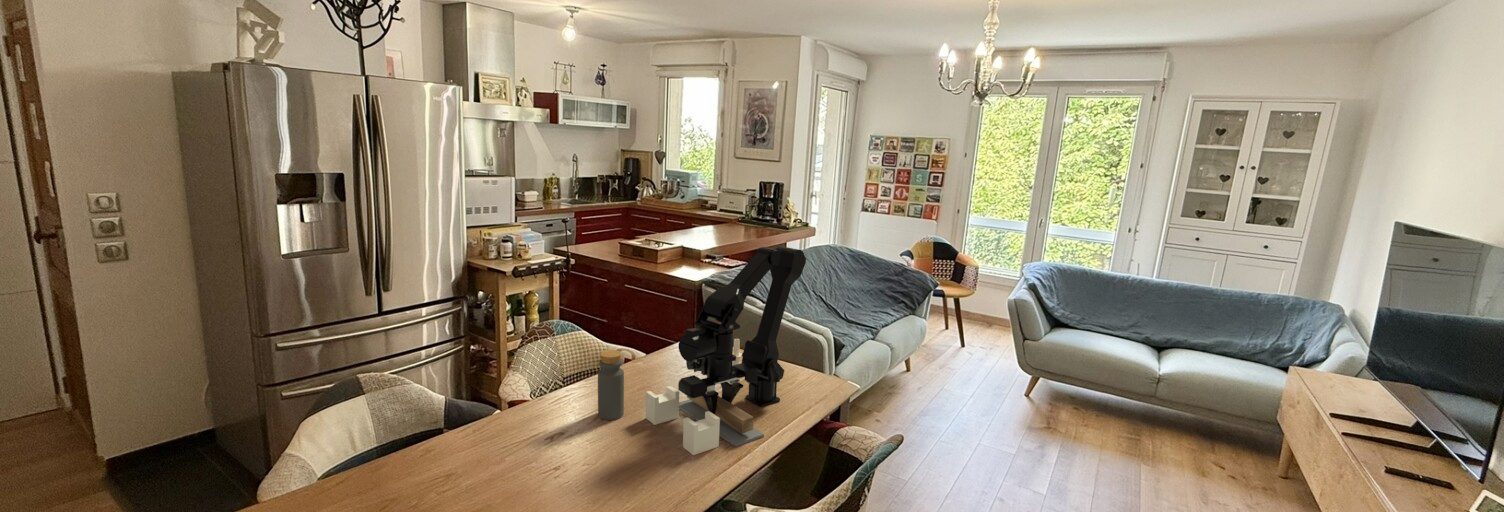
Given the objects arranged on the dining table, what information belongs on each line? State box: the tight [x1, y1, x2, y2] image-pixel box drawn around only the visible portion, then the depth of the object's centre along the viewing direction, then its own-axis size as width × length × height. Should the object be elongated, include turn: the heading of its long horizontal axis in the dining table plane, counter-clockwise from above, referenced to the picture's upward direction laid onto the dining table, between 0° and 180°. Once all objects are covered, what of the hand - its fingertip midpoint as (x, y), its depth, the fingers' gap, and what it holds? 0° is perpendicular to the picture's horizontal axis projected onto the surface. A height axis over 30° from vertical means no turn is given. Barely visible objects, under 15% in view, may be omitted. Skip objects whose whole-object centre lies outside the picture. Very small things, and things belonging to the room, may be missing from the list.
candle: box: [732, 338, 743, 366], centre depth 168 cm, size 5×5×10 cm
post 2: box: [682, 411, 720, 456], centre depth 127 cm, size 6×4×6 cm, turn 129°
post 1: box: [645, 385, 680, 426], centre depth 139 cm, size 6×4×6 cm, turn 129°
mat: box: [679, 398, 765, 448], centre depth 140 cm, size 8×24×1 cm, turn 39°
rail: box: [686, 395, 754, 433], centre depth 140 cm, size 3×22×3 cm, turn 39°
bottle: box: [597, 349, 625, 421], centre depth 139 cm, size 6×6×15 cm
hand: (718, 414), depth 140 cm, fingers closed on rail, 3 cm apart
